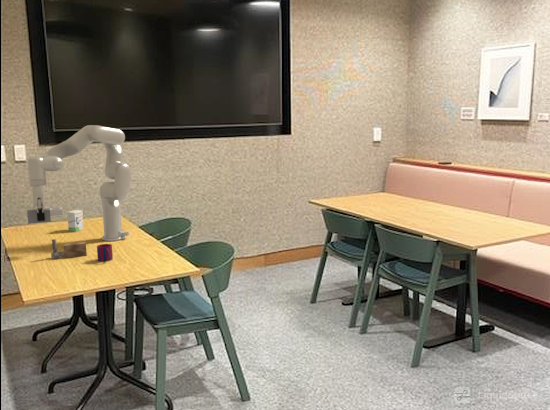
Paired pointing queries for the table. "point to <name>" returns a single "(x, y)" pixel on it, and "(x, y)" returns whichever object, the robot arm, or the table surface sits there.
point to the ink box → (75, 220)
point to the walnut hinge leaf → (69, 250)
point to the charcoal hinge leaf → (47, 213)
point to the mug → (104, 252)
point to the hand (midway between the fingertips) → (41, 219)
